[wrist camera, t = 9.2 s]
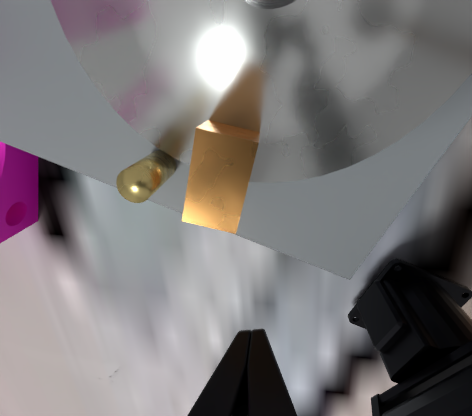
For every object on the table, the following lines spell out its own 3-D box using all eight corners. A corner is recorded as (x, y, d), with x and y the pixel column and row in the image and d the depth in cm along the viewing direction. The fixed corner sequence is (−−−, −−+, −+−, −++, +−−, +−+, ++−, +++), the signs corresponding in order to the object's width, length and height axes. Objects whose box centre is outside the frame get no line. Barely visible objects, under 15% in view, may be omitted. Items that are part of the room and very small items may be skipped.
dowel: (179, 157, 15) (156, 176, 12) (171, 182, 15) (147, 208, 12) (151, 145, 15) (119, 162, 11) (144, 172, 15) (113, 194, 12)
